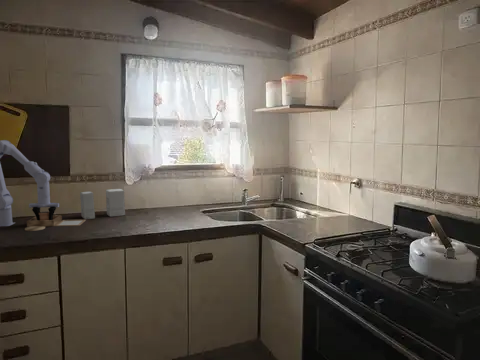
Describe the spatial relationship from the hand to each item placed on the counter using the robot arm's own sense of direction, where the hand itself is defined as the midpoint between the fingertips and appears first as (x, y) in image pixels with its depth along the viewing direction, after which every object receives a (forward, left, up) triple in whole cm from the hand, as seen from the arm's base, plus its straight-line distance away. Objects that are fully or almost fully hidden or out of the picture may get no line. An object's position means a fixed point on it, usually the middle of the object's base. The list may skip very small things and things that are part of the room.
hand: (44, 220), depth 205 cm
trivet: (-1, -11, -2) cm, 11 cm away
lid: (+13, 0, -2) cm, 13 cm away
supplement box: (+32, +23, -2) cm, 39 cm away
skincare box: (+18, +15, -2) cm, 24 cm away
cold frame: (0, 0, -2) cm, 2 cm away
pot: (0, 0, -1) cm, 1 cm away
